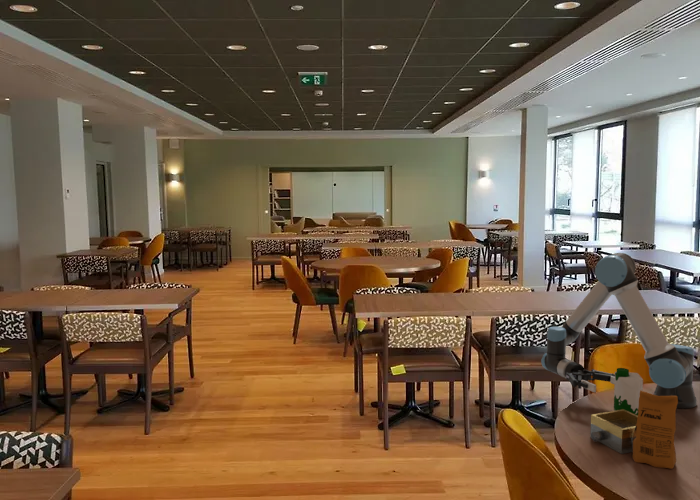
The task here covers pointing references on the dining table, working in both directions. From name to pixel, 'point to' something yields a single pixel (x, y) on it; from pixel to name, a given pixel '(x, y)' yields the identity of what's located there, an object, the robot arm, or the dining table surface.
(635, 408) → the soya milk
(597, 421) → the open square tray
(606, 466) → the dining table surface
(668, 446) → the coffee package
